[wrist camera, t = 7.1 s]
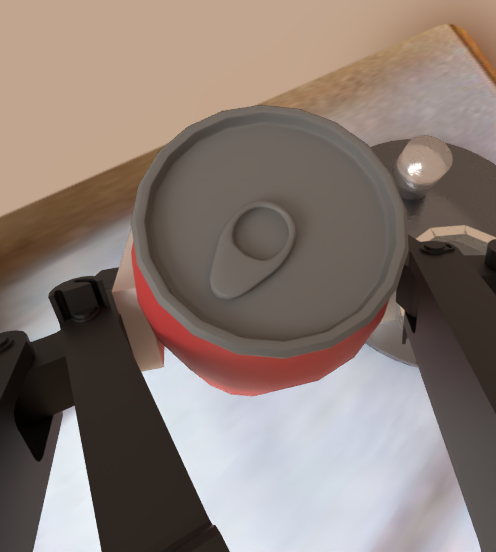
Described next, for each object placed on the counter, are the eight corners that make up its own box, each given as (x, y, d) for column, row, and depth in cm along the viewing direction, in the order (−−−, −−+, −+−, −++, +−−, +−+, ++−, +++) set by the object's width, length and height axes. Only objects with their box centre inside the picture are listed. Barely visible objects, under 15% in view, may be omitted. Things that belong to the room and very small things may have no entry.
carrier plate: (271, 305, 32) (278, 288, 28) (354, 116, 39) (372, 75, 34) (523, 416, 30) (579, 419, 26) (565, 197, 37) (616, 166, 32)
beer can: (154, 347, 18) (28, 260, 7) (228, 242, 20) (224, 39, 9) (270, 424, 17) (342, 468, 6) (336, 307, 19) (485, 174, 8)
